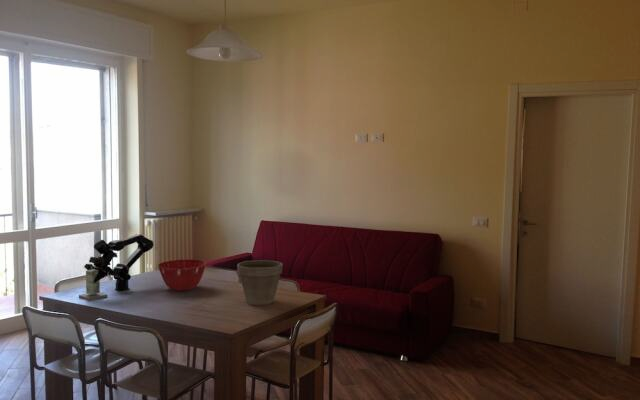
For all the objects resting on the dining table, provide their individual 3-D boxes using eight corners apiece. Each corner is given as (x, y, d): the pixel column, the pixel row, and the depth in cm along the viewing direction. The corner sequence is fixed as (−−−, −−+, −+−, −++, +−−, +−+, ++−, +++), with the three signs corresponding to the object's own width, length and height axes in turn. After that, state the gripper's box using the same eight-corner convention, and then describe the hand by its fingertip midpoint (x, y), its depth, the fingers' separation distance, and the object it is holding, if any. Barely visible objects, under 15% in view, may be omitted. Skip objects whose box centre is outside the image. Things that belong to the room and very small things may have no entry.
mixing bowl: (183, 296, 317) (183, 269, 316) (148, 290, 331) (147, 264, 330) (215, 286, 341) (215, 262, 340) (181, 281, 355) (181, 257, 354)
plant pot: (254, 294, 322) (254, 257, 320) (290, 299, 310) (290, 261, 309) (228, 304, 300) (228, 265, 298) (266, 310, 288) (266, 269, 287)
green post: (93, 291, 316) (93, 269, 315) (99, 292, 314) (99, 270, 313) (86, 293, 312) (85, 270, 311) (92, 294, 310) (91, 271, 308)
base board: (97, 294, 321) (96, 291, 320) (107, 297, 314) (107, 294, 314) (78, 297, 312) (78, 295, 312) (89, 301, 305) (89, 298, 305)
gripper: (86, 249, 319) (70, 272, 310) (109, 252, 310) (93, 275, 301) (97, 260, 326) (82, 283, 317) (120, 263, 318) (105, 286, 309)
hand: (90, 281), depth 311 cm, fingers closed on green post, 5 cm apart
